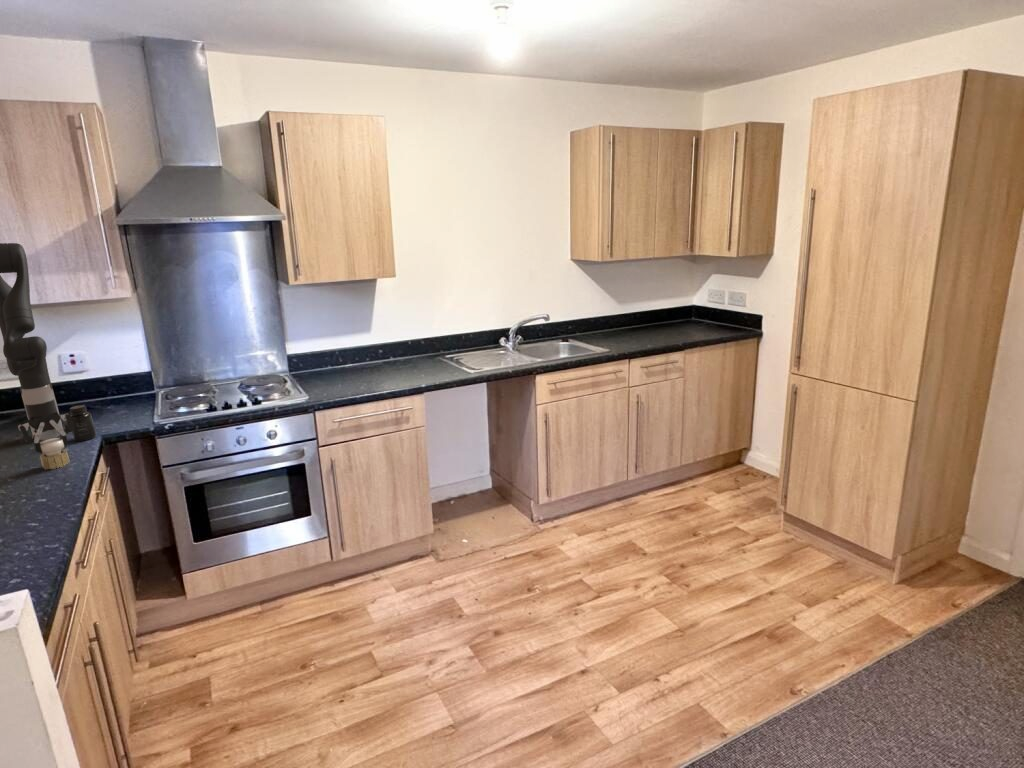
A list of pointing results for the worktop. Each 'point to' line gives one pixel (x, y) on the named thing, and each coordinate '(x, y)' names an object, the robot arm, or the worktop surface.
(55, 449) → the cap
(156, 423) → the worktop surface
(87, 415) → the supplement bottle
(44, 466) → the wooden slatted bowl
